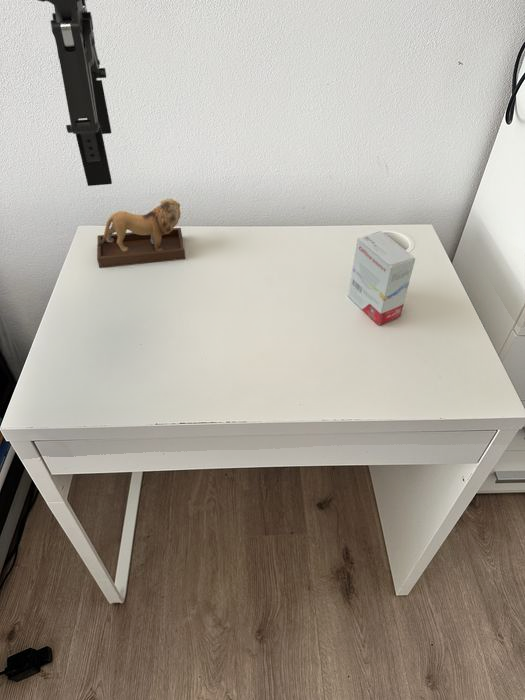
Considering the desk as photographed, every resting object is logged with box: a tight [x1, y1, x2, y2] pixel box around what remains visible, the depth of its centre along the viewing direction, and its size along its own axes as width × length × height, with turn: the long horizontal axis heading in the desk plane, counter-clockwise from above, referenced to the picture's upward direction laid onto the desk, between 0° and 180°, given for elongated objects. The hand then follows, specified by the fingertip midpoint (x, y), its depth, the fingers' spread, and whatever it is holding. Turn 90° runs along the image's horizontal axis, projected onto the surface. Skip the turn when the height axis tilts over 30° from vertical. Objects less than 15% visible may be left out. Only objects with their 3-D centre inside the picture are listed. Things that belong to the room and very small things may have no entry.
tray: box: [96, 227, 186, 269], centre depth 97 cm, size 15×7×2 cm, turn 101°
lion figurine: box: [96, 198, 181, 252], centre depth 94 cm, size 15×5×9 cm, turn 109°
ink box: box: [347, 230, 416, 326], centre depth 84 cm, size 9×5×12 cm, turn 29°
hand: (100, 156), depth 67 cm, fingers open, 13 cm apart
